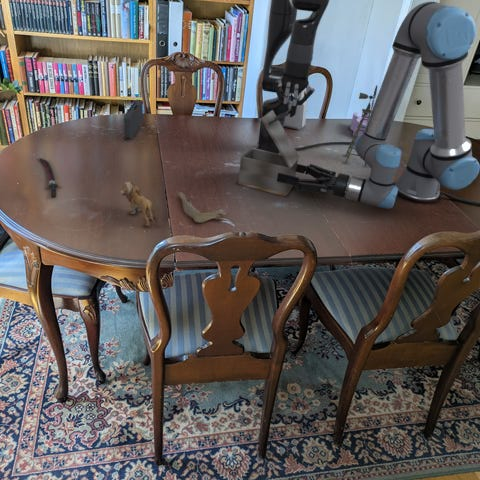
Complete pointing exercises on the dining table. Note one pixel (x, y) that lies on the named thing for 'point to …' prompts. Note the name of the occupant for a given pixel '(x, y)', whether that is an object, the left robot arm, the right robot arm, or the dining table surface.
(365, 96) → the miniature windmill
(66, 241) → the dining table surface
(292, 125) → the electronic device
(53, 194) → the sword
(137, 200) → the lion figurine
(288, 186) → the chest
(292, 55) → the left robot arm
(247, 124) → the dining table surface
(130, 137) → the handheld gaming console
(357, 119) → the clip
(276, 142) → the panel with bar handle
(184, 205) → the jawbone
